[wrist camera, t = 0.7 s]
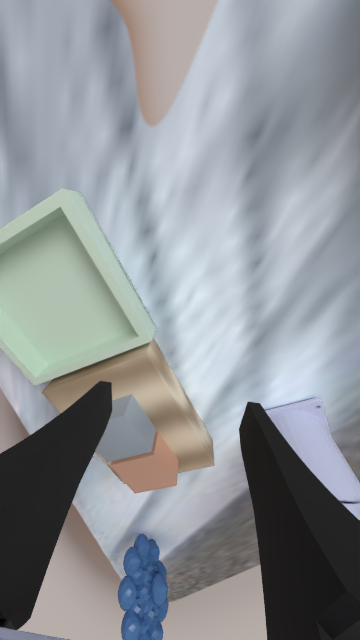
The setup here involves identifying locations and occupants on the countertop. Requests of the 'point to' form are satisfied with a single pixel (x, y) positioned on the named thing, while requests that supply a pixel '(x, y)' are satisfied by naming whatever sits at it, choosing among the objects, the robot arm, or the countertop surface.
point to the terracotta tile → (149, 468)
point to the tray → (64, 292)
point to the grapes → (143, 592)
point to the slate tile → (126, 431)
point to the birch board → (144, 400)
